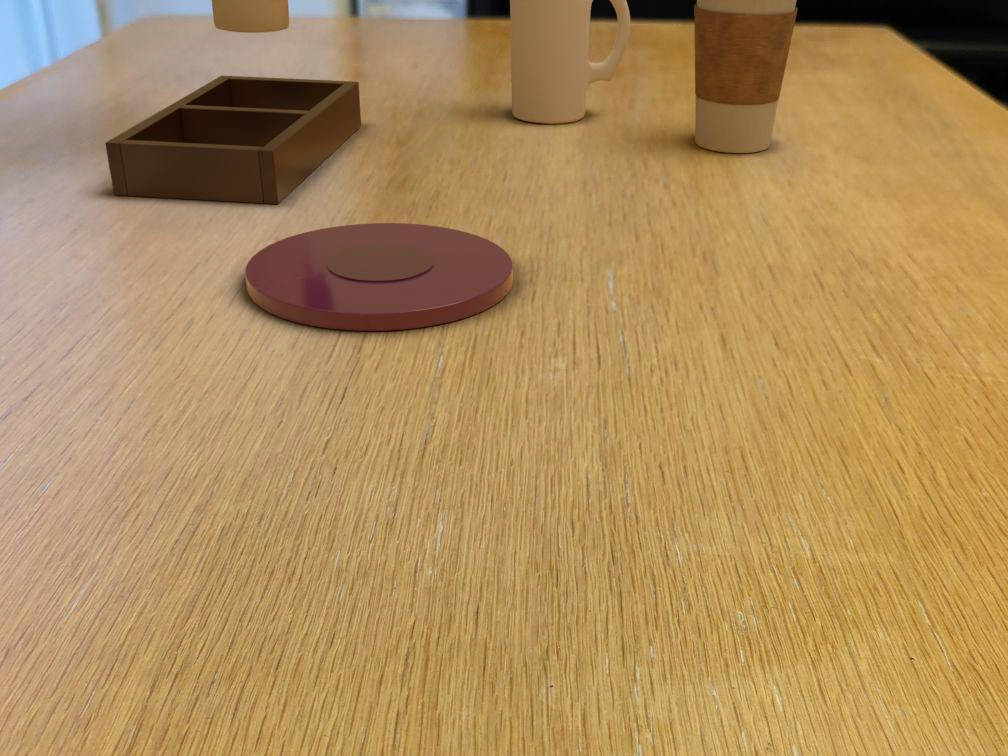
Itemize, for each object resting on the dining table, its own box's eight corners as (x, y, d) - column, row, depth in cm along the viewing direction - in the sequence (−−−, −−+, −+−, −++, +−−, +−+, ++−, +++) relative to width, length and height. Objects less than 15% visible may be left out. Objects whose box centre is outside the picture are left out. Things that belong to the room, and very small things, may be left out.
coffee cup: (760, 163, 91) (785, -57, 83) (661, 146, 95) (675, -66, 87) (801, 140, 97) (828, -67, 89) (706, 126, 101) (723, -75, 93)
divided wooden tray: (113, 195, 82) (104, 142, 80) (226, 119, 100) (221, 75, 99) (278, 204, 81) (272, 151, 79) (361, 126, 99) (358, 81, 97)
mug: (511, 125, 100) (512, -34, 94) (506, 106, 106) (506, -45, 100) (631, 124, 101) (640, -33, 95) (619, 106, 107) (627, -44, 100)
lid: (207, 321, 63) (204, 301, 63) (293, 232, 76) (291, 214, 75) (489, 340, 62) (489, 319, 61) (529, 245, 74) (529, 228, 74)
